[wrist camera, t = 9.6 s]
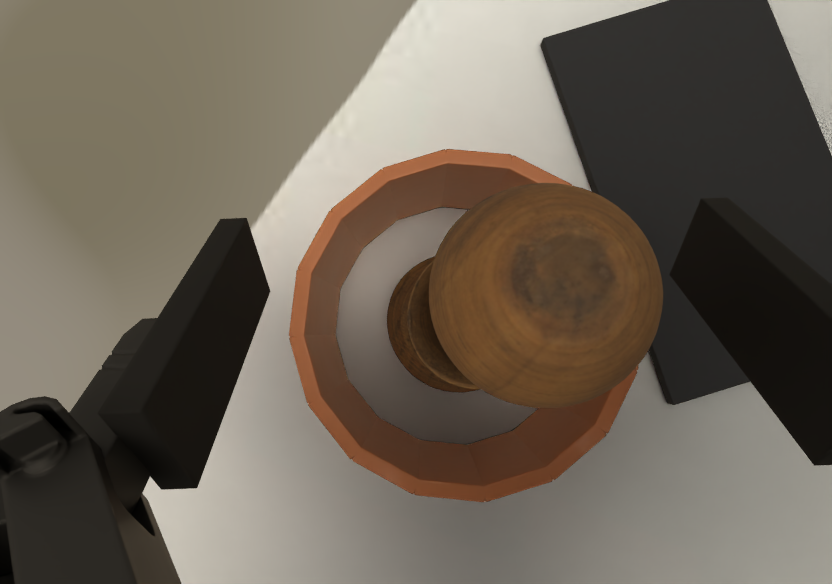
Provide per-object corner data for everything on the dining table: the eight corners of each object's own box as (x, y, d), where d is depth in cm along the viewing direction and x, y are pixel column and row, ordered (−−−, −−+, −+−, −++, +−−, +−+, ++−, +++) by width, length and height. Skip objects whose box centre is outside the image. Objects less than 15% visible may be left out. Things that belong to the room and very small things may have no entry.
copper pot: (535, 166, 23) (574, 109, 17) (619, 409, 22) (691, 438, 16) (296, 239, 23) (252, 206, 17) (367, 488, 22) (346, 546, 16)
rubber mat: (749, -18, 24) (757, -27, 23) (892, 333, 22) (905, 333, 22) (539, 45, 24) (542, 37, 23) (667, 403, 22) (673, 405, 21)
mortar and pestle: (370, 358, 23) (165, 456, 5) (416, 241, 23) (391, -78, 5) (492, 406, 22) (785, 713, 4) (536, 287, 23) (958, 114, 5)
